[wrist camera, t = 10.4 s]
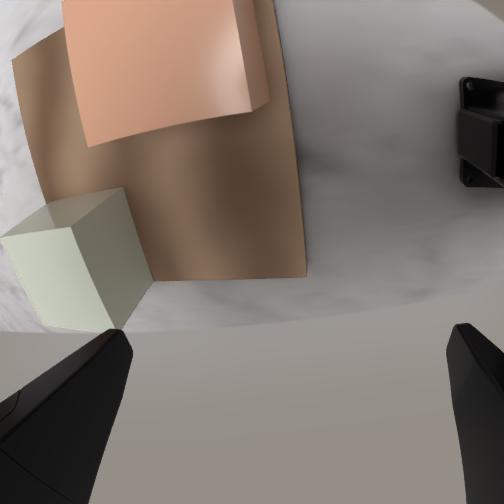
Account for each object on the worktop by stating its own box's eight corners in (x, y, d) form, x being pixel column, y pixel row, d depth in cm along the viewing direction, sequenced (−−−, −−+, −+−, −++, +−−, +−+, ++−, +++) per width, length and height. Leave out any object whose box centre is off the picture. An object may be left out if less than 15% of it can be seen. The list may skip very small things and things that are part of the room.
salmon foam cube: (248, -24, 12) (219, -63, 7) (270, 101, 15) (252, 111, 10) (124, 12, 13) (61, 1, 8) (145, 124, 16) (88, 147, 12)
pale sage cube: (123, 187, 19) (70, 226, 14) (153, 281, 22) (118, 334, 17) (50, 201, 20) (-1, 237, 16) (81, 281, 24) (44, 325, 19)
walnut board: (266, -35, 12) (263, -41, 11) (307, 268, 21) (306, 277, 20) (21, 58, 16) (12, 60, 15) (83, 274, 25) (77, 281, 24)
